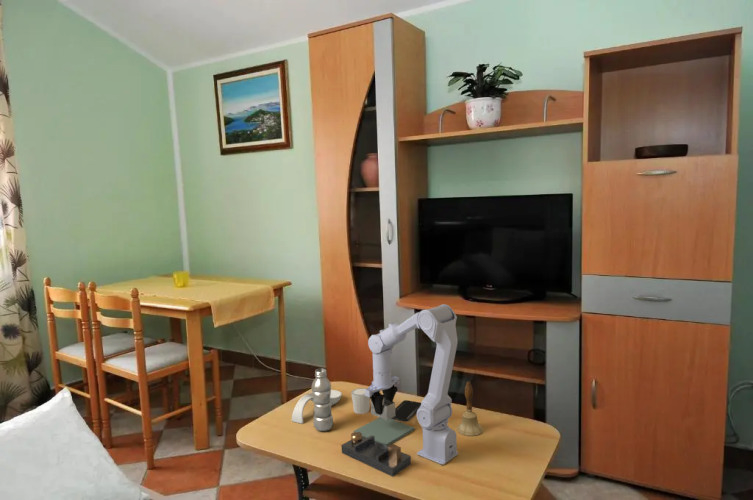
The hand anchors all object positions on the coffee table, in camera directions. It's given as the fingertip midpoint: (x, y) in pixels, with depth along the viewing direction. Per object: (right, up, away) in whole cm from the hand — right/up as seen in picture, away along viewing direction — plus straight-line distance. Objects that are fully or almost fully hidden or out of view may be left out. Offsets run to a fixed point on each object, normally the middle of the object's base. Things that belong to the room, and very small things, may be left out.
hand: (383, 411), depth 160 cm
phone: (+8, -6, +15) cm, 18 cm away
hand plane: (-3, -9, -16) cm, 18 cm away
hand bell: (+28, -6, 0) cm, 29 cm away
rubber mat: (0, -7, +1) cm, 7 cm away
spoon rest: (-24, -6, +19) cm, 31 cm away
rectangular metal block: (0, -1, 0) cm, 1 cm away
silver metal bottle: (-20, -7, +4) cm, 21 cm away
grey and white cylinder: (-8, -6, +17) cm, 20 cm away
